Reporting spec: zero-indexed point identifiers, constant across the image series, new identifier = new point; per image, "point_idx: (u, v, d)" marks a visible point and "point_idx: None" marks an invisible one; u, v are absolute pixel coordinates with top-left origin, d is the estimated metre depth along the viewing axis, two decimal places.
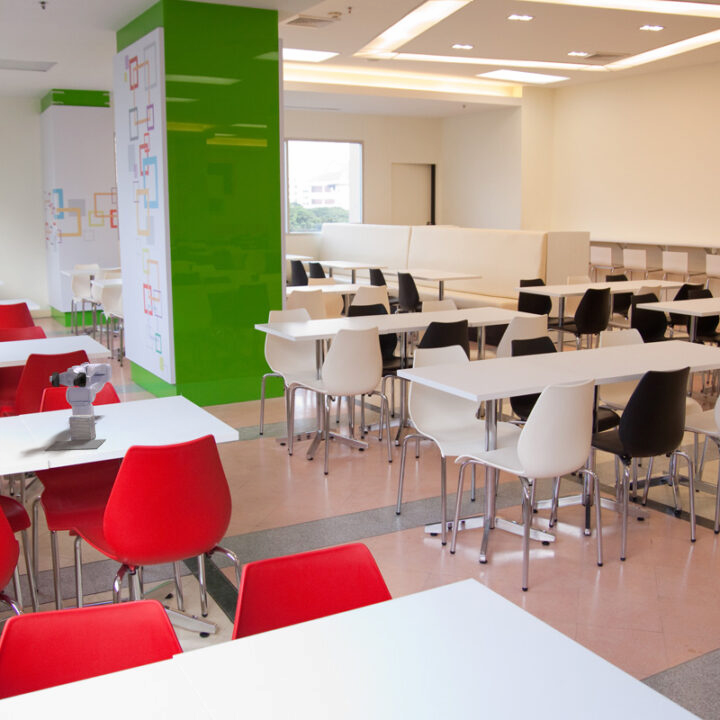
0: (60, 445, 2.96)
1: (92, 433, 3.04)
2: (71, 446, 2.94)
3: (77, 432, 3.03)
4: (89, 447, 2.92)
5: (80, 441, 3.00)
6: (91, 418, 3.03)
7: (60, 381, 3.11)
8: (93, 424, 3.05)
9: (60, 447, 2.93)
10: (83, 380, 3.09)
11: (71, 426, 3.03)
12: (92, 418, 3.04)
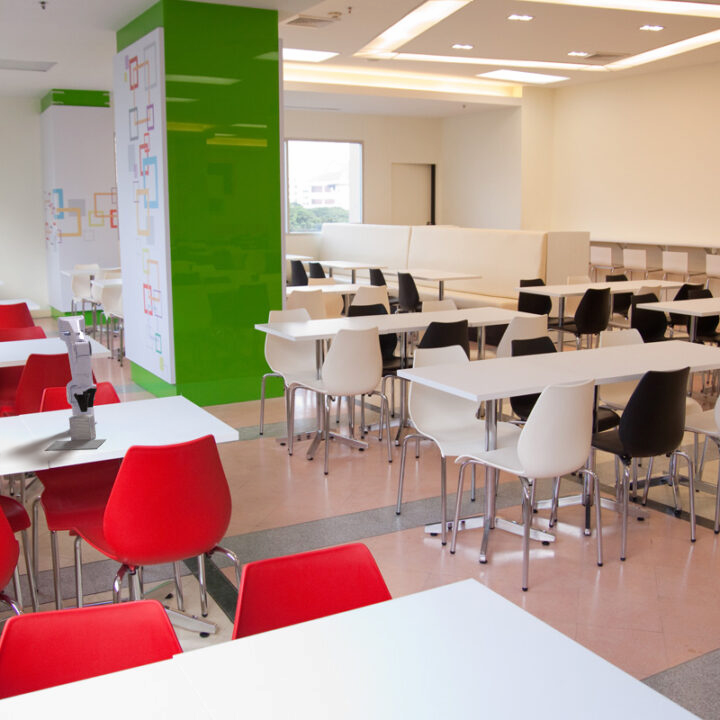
0: (60, 445, 2.96)
1: (92, 433, 3.04)
2: (71, 446, 2.94)
3: (77, 432, 3.03)
4: (89, 447, 2.92)
5: (80, 441, 3.00)
6: (91, 418, 3.03)
7: None
8: (93, 424, 3.05)
9: (60, 447, 2.93)
10: None
11: (71, 426, 3.03)
12: (92, 418, 3.04)
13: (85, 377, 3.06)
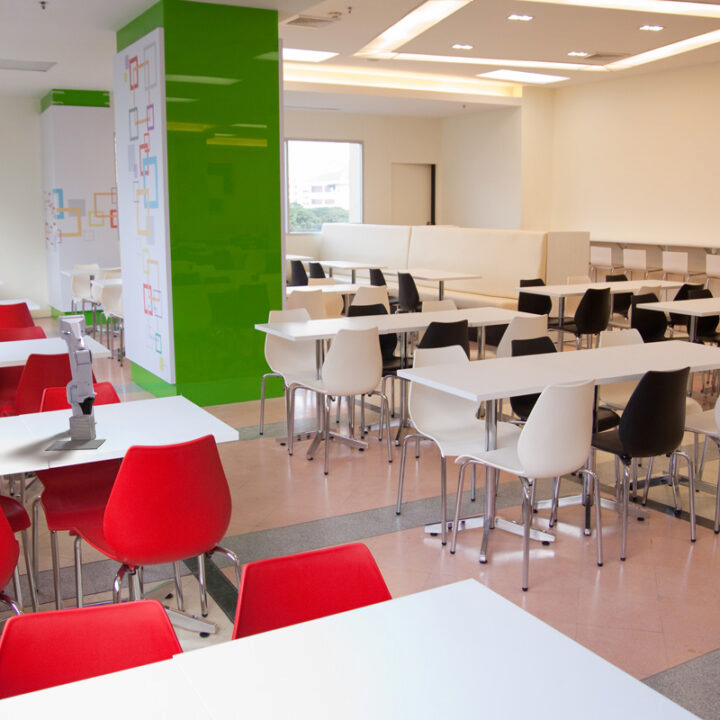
0: (60, 445, 2.96)
1: (92, 433, 3.04)
2: (71, 446, 2.94)
3: (77, 432, 3.03)
4: (89, 447, 2.92)
5: (80, 441, 3.00)
6: (91, 418, 3.03)
7: None
8: (93, 424, 3.05)
9: (60, 447, 2.93)
10: None
11: (71, 426, 3.03)
12: (92, 418, 3.04)
13: (86, 385, 3.07)
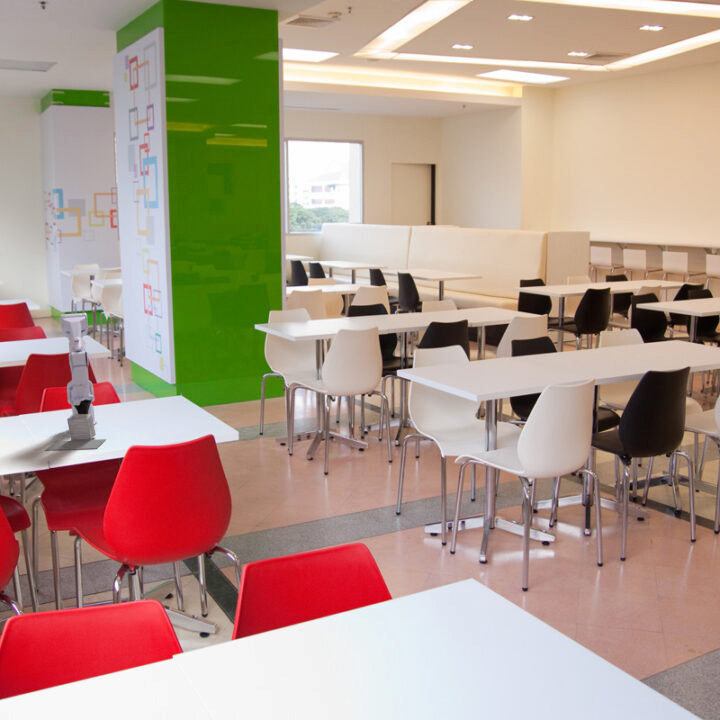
0: (60, 445, 2.96)
1: (91, 433, 3.03)
2: (71, 446, 2.94)
3: (77, 432, 3.02)
4: (89, 447, 2.92)
5: (80, 441, 3.00)
6: (89, 418, 3.02)
7: None
8: (92, 423, 3.04)
9: (60, 447, 2.93)
10: None
11: (70, 427, 3.02)
12: (90, 418, 3.03)
13: (82, 387, 3.02)
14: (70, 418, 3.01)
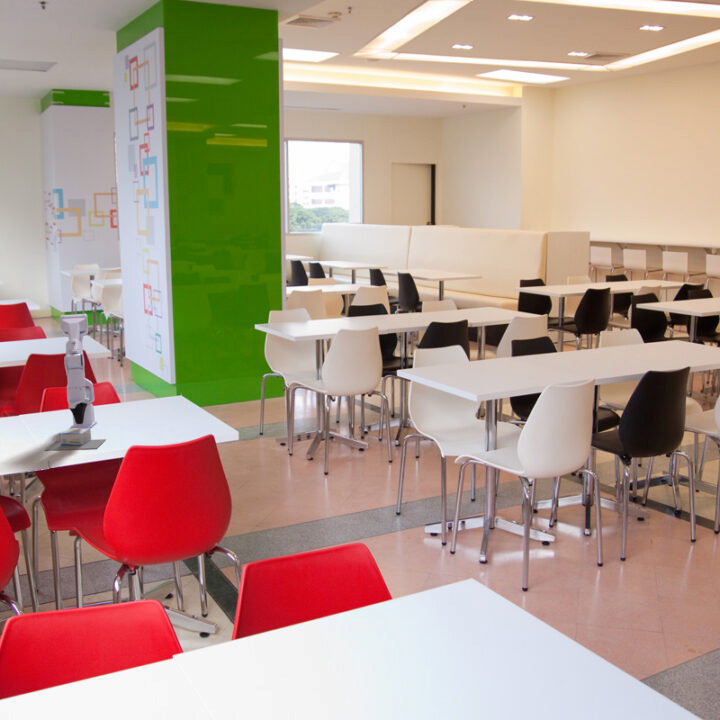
0: (60, 445, 2.96)
1: (88, 437, 3.01)
2: (71, 446, 2.94)
3: None
4: (89, 447, 2.92)
5: None
6: (82, 440, 2.95)
7: None
8: (85, 435, 2.98)
9: (60, 447, 2.93)
10: None
11: None
12: (82, 438, 2.95)
13: (78, 390, 2.97)
14: (63, 443, 2.95)
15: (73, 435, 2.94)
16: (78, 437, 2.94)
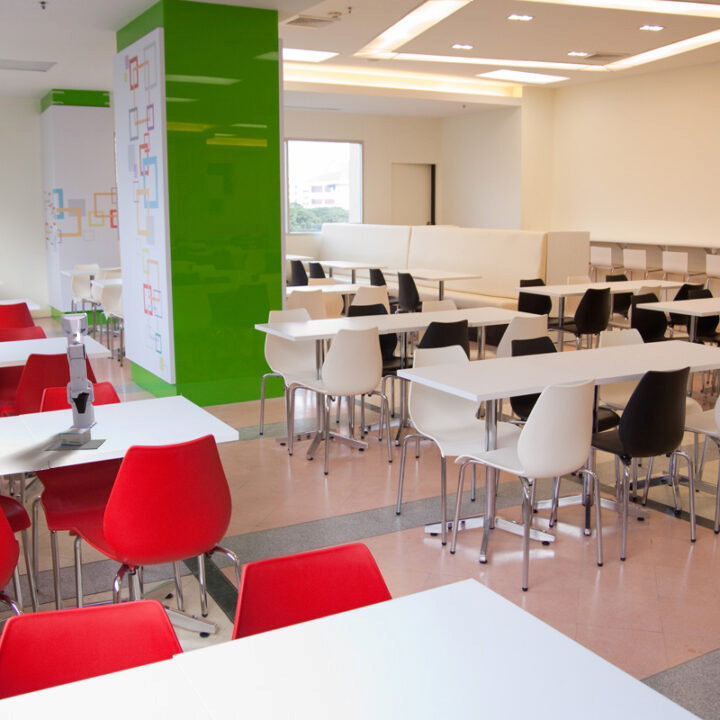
0: (60, 445, 2.96)
1: (88, 437, 3.01)
2: (71, 446, 2.94)
3: None
4: (89, 447, 2.92)
5: None
6: (82, 440, 2.95)
7: None
8: (85, 435, 2.98)
9: (60, 447, 2.93)
10: None
11: None
12: (82, 438, 2.95)
13: (80, 380, 3.00)
14: (63, 443, 2.95)
15: (73, 435, 2.94)
16: (78, 437, 2.94)
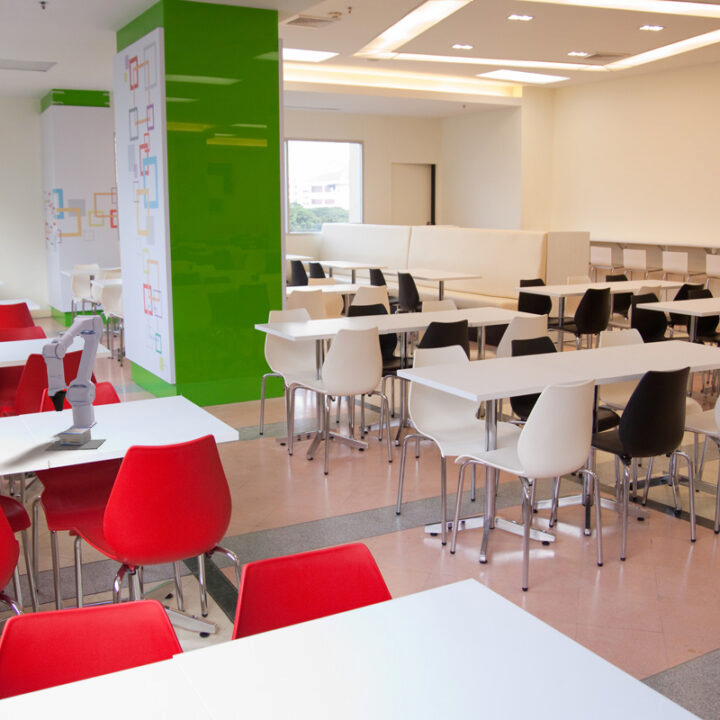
0: (60, 445, 2.96)
1: (88, 437, 3.01)
2: (71, 446, 2.94)
3: None
4: (89, 447, 2.92)
5: None
6: (82, 440, 2.95)
7: None
8: (85, 435, 2.98)
9: (60, 447, 2.93)
10: None
11: None
12: (82, 438, 2.95)
13: (57, 378, 3.05)
14: (63, 443, 2.95)
15: (73, 435, 2.94)
16: (78, 437, 2.94)
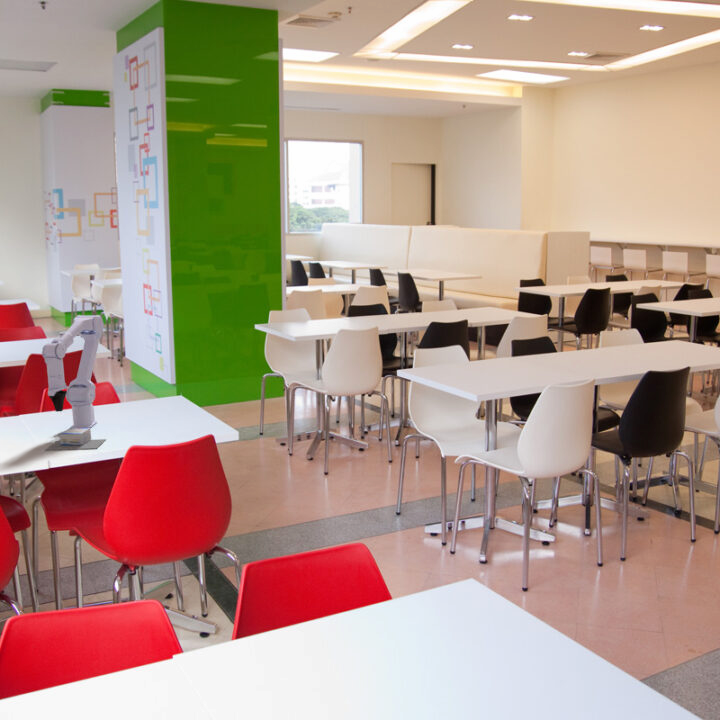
0: (60, 445, 2.96)
1: (88, 437, 3.01)
2: (71, 446, 2.94)
3: None
4: (89, 447, 2.92)
5: None
6: (82, 440, 2.95)
7: None
8: (85, 435, 2.98)
9: (60, 447, 2.93)
10: None
11: None
12: (82, 438, 2.95)
13: (57, 378, 3.05)
14: (63, 443, 2.95)
15: (73, 435, 2.94)
16: (78, 437, 2.94)
